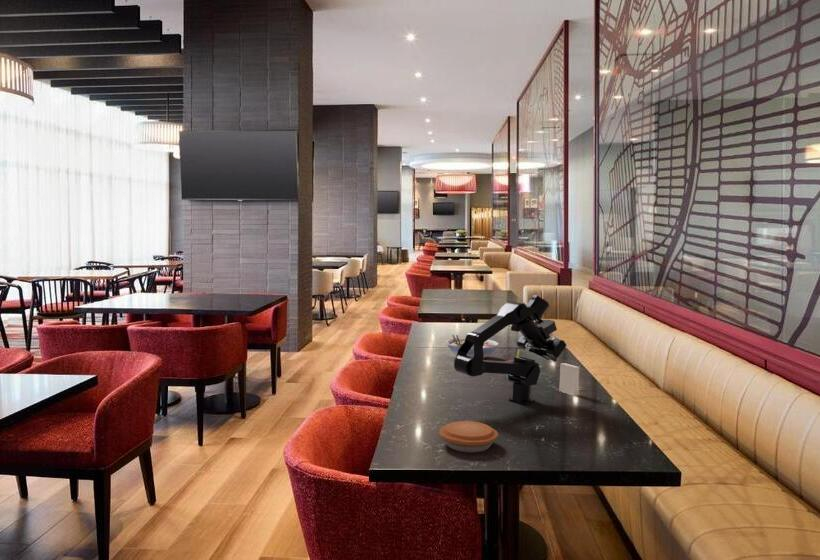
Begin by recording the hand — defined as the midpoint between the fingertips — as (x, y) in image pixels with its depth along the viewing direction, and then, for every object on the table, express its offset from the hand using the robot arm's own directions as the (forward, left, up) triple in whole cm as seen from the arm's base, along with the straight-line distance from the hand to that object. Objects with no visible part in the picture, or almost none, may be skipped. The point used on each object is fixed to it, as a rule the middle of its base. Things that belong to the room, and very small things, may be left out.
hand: (552, 360), depth 210 cm
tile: (+8, -2, -13) cm, 15 cm away
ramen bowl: (+26, +55, -13) cm, 63 cm away
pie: (-59, -11, -13) cm, 61 cm away
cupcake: (+11, +23, -13) cm, 29 cm away
